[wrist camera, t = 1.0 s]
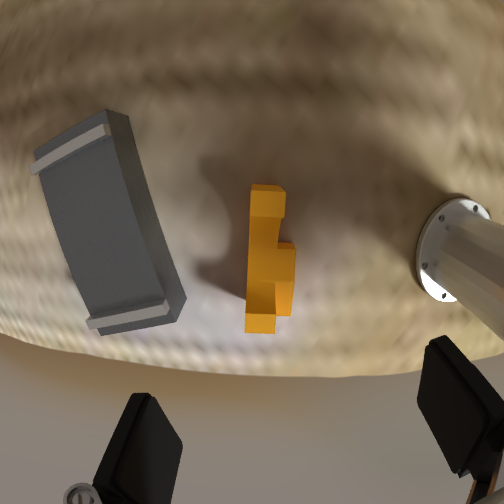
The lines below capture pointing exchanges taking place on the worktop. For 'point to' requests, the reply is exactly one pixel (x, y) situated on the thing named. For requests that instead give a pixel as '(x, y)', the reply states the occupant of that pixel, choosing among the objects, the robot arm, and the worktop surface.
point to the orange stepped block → (268, 261)
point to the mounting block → (109, 225)
